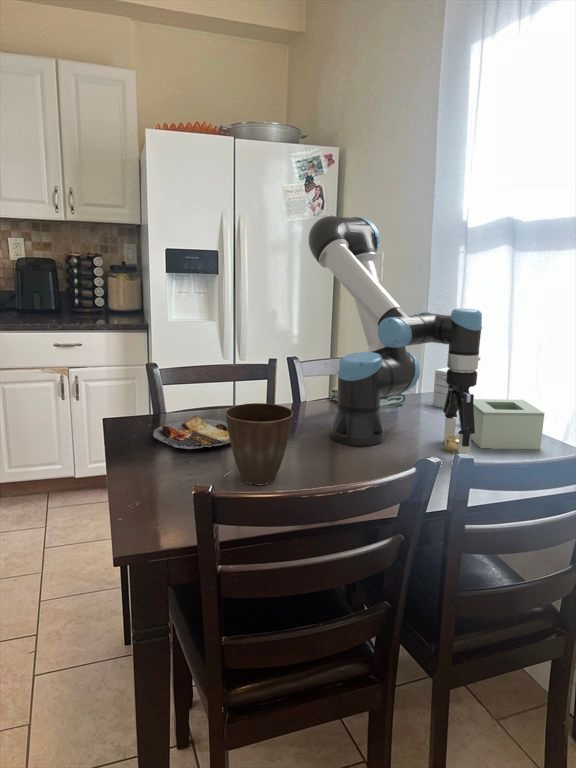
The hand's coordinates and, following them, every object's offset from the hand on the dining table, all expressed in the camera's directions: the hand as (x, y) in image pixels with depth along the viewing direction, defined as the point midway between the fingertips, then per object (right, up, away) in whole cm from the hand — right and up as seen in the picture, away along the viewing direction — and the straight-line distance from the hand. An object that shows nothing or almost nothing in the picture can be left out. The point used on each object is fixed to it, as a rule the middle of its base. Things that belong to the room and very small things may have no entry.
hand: (455, 449), depth 152 cm
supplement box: (+10, +10, +43) cm, 45 cm away
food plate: (-69, +2, +7) cm, 69 cm away
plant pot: (-51, -5, -22) cm, 56 cm away
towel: (-17, +11, +48) cm, 52 cm away
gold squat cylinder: (0, 0, 0) cm, 0 cm away
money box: (+15, +2, +8) cm, 17 cm away
